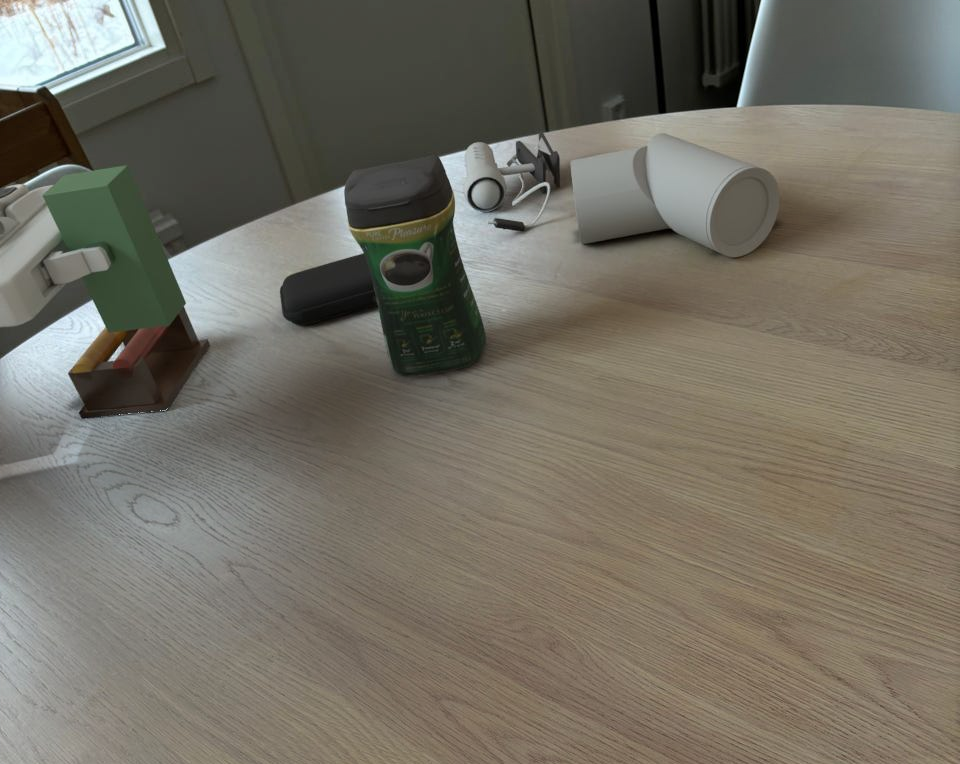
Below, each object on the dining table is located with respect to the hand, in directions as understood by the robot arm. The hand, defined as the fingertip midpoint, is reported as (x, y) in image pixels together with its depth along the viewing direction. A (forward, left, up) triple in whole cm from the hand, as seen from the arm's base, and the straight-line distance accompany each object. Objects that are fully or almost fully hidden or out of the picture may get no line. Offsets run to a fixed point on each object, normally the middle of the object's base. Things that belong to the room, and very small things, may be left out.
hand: (122, 240), depth 87 cm
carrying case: (+12, +24, -20) cm, 34 cm away
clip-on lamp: (+32, +40, -20) cm, 55 cm away
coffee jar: (+22, +7, -20) cm, 31 cm away
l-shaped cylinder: (+48, +22, -20) cm, 57 cm away
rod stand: (-10, +15, -20) cm, 27 cm away
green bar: (-1, 0, -7) cm, 7 cm away
